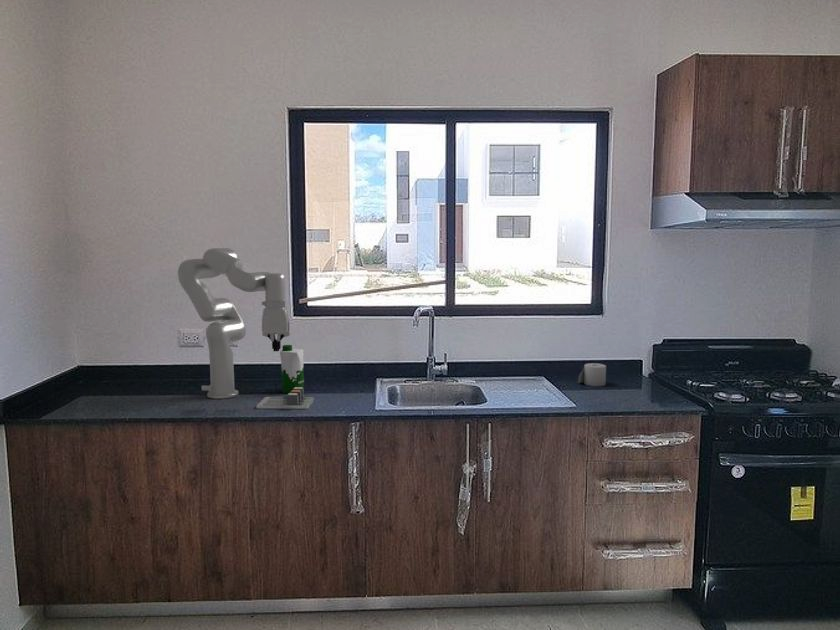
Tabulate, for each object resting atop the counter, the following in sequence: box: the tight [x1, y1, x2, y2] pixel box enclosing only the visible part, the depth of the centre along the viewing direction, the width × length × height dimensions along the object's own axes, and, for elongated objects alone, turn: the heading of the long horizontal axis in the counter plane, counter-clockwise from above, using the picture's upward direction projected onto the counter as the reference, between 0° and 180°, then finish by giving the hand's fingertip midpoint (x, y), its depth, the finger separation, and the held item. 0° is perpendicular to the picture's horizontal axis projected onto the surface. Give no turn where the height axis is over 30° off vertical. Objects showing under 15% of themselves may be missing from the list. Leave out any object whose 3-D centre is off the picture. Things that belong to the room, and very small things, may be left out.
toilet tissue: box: [577, 362, 607, 387], centre depth 283 cm, size 9×13×9 cm
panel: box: [256, 396, 315, 410], centre depth 250 cm, size 20×13×1 cm, turn 89°
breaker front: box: [286, 393, 299, 405], centre depth 245 cm, size 4×2×4 cm, turn 89°
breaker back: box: [293, 387, 305, 398], centre depth 255 cm, size 4×2×4 cm, turn 89°
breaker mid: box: [290, 390, 301, 401], centre depth 250 cm, size 4×2×4 cm, turn 89°
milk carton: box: [279, 344, 305, 394], centre depth 270 cm, size 9×9×20 cm
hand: (276, 350), depth 248 cm, fingers closed
